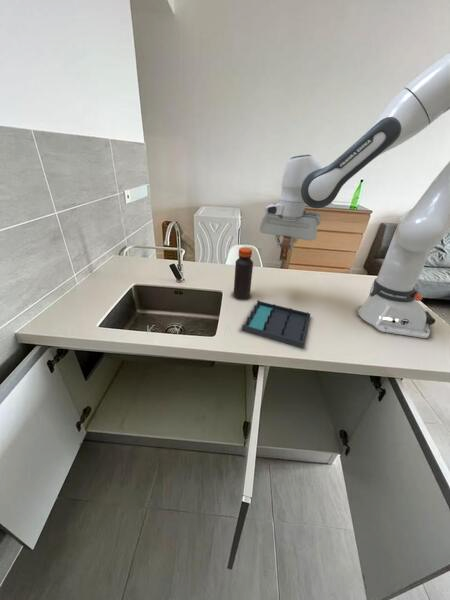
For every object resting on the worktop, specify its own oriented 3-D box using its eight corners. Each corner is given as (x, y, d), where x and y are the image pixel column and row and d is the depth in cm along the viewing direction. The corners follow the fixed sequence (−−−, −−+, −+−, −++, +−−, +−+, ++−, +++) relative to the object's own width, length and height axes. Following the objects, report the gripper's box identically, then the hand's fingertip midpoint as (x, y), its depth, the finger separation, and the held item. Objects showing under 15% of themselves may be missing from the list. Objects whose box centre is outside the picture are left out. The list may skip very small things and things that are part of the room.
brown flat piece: (281, 250, 99) (282, 229, 95) (288, 251, 99) (291, 230, 95) (278, 264, 87) (280, 240, 83) (287, 264, 86) (290, 241, 82)
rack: (309, 317, 89) (311, 309, 87) (302, 348, 75) (305, 338, 73) (257, 304, 95) (258, 296, 93) (241, 330, 81) (242, 321, 79)
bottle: (237, 290, 105) (240, 245, 95) (252, 294, 103) (257, 248, 92) (230, 297, 100) (233, 250, 89) (246, 301, 97) (250, 253, 87)
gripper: (323, 211, 83) (314, 250, 90) (265, 204, 89) (261, 241, 97) (321, 214, 78) (312, 255, 85) (260, 207, 84) (256, 245, 92)
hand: (284, 248), depth 91 cm, fingers closed on brown flat piece, 3 cm apart
